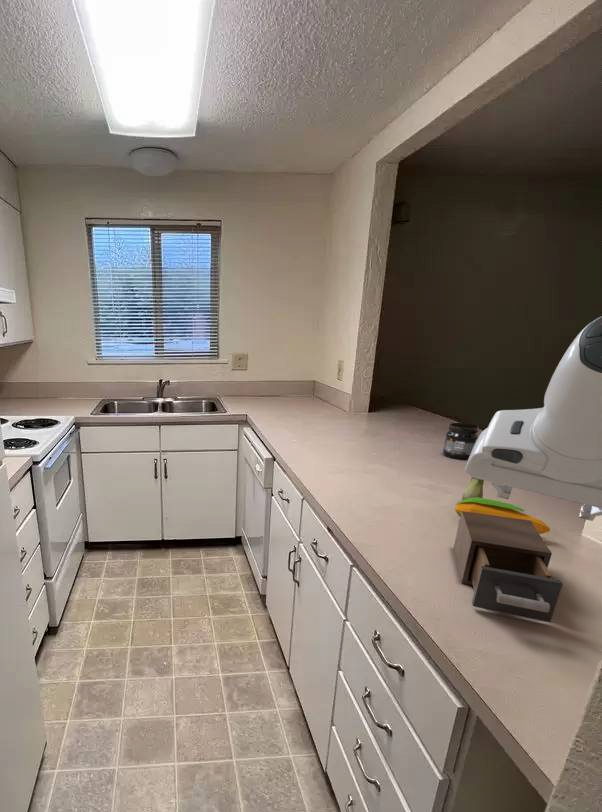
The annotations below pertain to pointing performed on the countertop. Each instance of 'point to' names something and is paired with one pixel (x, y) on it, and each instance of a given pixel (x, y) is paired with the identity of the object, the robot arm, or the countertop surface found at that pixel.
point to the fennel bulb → (474, 489)
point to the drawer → (513, 583)
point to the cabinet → (495, 539)
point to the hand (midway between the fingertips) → (542, 504)
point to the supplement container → (460, 440)
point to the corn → (498, 511)
